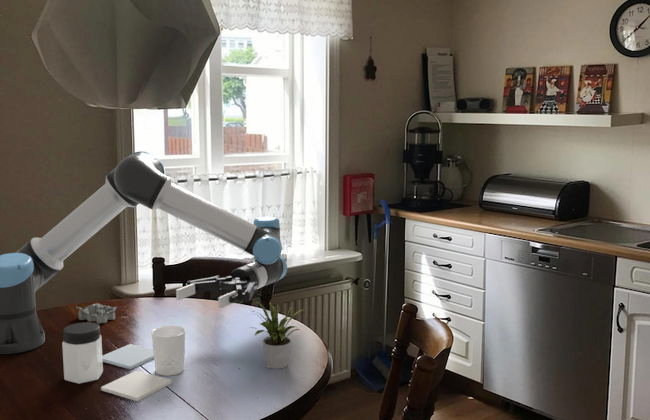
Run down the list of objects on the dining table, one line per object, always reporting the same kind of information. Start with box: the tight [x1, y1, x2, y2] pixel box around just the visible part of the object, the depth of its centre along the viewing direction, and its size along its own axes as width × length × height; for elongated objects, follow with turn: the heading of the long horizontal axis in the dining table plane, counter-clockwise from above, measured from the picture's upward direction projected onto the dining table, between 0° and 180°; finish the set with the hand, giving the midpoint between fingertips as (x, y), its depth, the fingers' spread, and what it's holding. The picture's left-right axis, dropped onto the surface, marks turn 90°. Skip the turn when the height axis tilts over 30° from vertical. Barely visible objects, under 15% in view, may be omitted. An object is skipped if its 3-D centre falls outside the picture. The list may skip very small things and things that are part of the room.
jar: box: [61, 321, 104, 384], centre depth 164 cm, size 9×8×12 cm
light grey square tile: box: [102, 343, 154, 370], centre depth 177 cm, size 11×11×1 cm
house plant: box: [249, 300, 305, 370], centre depth 172 cm, size 14×14×16 cm
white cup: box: [151, 325, 186, 377], centre depth 169 cm, size 8×8×10 cm
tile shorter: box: [100, 370, 172, 402], centre depth 160 cm, size 11×11×1 cm
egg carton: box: [75, 302, 118, 324], centre depth 206 cm, size 11×8×4 cm
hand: (197, 298), depth 176 cm, fingers open, 13 cm apart
